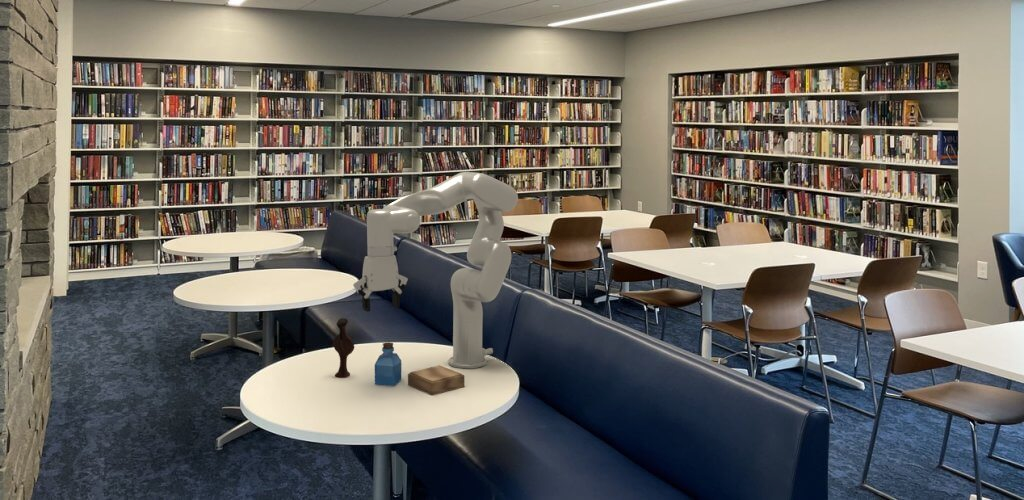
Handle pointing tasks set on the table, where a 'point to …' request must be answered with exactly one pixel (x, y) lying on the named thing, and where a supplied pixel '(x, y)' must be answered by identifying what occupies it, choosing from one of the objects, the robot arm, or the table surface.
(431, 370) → the pedestal
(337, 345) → the figurine
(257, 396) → the table surface
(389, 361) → the perfume bottle
